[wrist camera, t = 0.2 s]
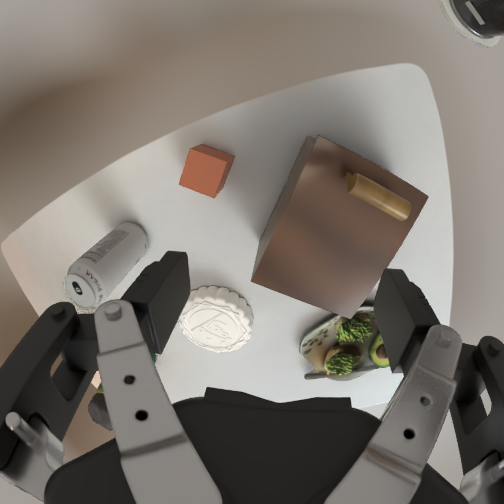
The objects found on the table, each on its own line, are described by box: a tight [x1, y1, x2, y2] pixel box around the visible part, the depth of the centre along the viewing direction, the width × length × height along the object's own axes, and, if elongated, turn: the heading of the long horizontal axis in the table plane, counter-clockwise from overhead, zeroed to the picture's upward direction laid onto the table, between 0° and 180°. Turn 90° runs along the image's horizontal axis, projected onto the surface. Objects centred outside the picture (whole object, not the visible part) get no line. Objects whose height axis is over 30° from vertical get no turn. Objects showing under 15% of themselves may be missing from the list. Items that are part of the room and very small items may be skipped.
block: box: [179, 144, 234, 198], centre depth 33 cm, size 5×5×5 cm
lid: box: [251, 135, 428, 319], centre depth 26 cm, size 16×13×5 cm
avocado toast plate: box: [299, 304, 390, 381], centre depth 45 cm, size 19×18×5 cm
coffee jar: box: [88, 352, 156, 431], centre depth 46 cm, size 10×8×19 cm
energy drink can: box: [64, 222, 148, 309], centre depth 35 cm, size 6×6×15 cm
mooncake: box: [178, 286, 254, 353], centre depth 45 cm, size 12×12×4 cm
